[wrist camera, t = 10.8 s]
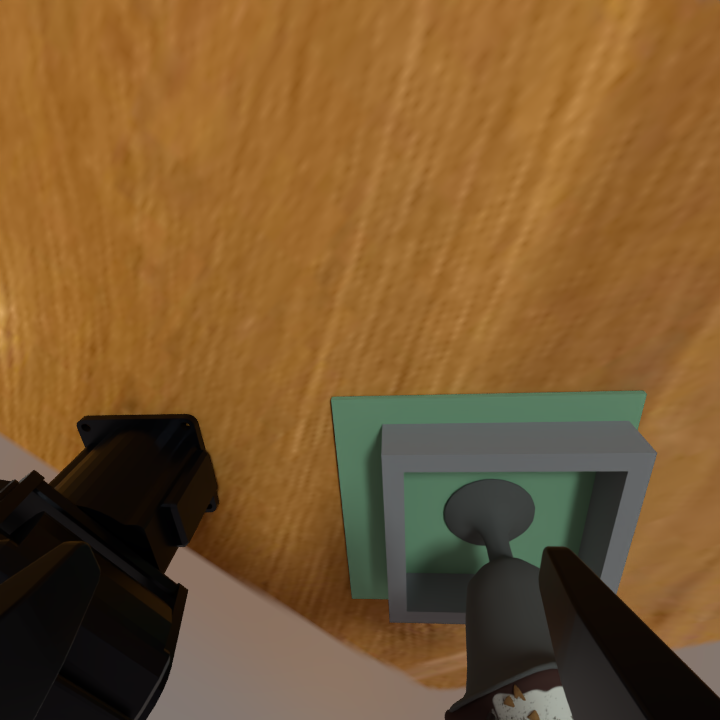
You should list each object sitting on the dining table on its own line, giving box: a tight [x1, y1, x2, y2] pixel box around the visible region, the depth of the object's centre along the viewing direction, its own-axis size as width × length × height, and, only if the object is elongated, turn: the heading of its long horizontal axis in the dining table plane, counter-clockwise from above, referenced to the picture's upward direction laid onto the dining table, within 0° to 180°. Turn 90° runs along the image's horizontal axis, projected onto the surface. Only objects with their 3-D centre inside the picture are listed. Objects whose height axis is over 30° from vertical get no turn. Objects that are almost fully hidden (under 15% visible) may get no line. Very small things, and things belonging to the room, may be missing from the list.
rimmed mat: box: [331, 391, 657, 624], centre depth 23 cm, size 15×15×3 cm
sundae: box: [444, 479, 573, 720], centre depth 18 cm, size 7×7×15 cm
